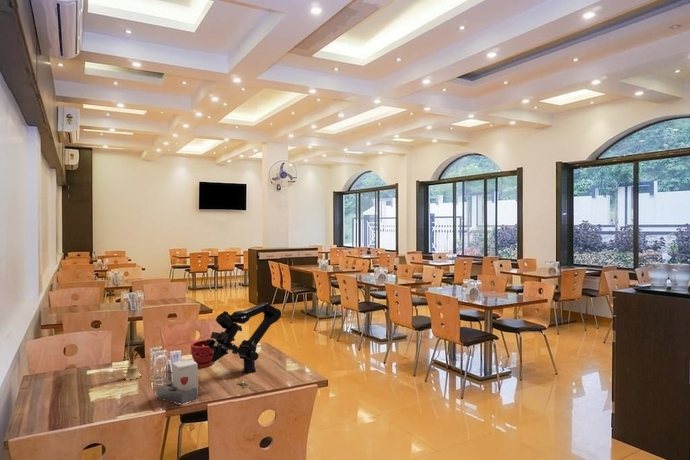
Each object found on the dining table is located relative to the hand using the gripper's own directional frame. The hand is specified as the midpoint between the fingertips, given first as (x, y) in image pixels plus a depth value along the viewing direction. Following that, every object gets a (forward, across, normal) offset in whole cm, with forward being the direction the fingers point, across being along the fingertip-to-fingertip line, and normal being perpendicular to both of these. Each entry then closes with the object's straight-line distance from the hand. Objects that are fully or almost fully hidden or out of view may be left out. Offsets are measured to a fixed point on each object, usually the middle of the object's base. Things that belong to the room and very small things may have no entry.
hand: (212, 361), depth 226 cm
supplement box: (+19, 0, -3) cm, 19 cm away
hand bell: (+18, -44, -2) cm, 48 cm away
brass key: (+3, +13, +13) cm, 19 cm away
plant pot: (-5, -29, +21) cm, 36 cm away
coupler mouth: (+22, 0, -6) cm, 23 cm away
